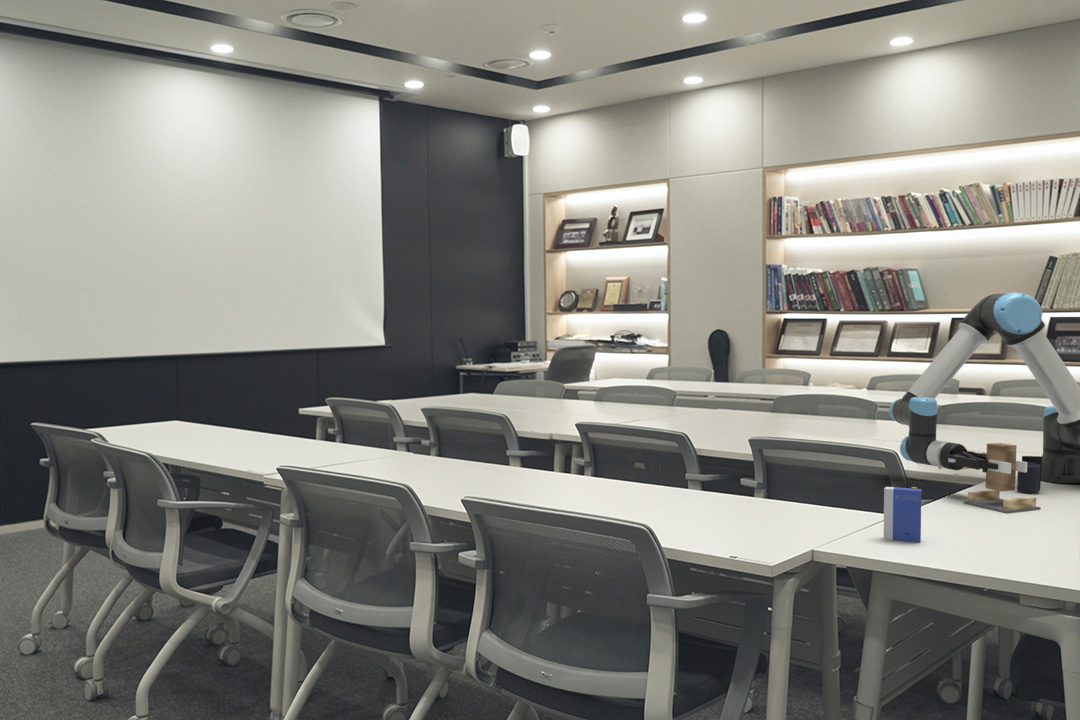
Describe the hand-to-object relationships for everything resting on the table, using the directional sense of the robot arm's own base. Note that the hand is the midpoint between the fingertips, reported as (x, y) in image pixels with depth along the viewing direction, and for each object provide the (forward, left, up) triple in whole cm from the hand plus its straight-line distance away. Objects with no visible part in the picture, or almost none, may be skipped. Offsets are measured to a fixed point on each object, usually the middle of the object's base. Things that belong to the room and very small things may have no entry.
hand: (1017, 467), depth 240 cm
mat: (0, -5, -11) cm, 12 cm away
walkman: (+51, +13, -11) cm, 54 cm away
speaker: (-24, -16, -11) cm, 31 cm away
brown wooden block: (0, -5, -6) cm, 8 cm away
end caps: (0, -5, -11) cm, 12 cm away
